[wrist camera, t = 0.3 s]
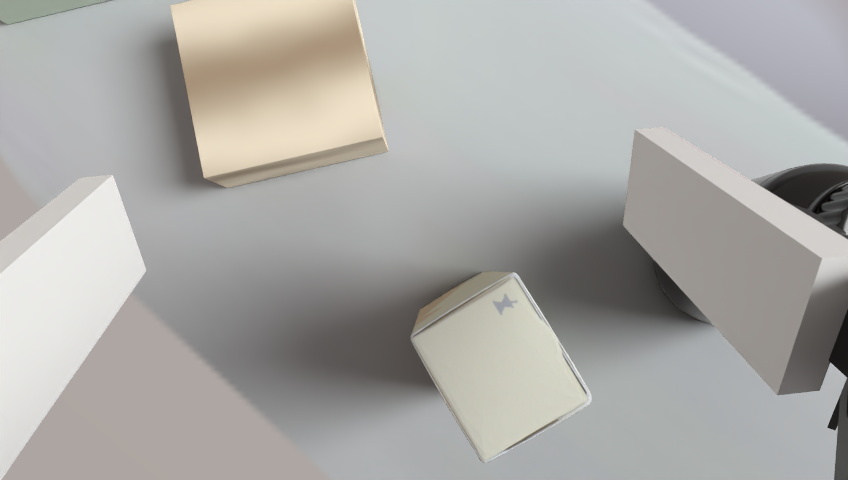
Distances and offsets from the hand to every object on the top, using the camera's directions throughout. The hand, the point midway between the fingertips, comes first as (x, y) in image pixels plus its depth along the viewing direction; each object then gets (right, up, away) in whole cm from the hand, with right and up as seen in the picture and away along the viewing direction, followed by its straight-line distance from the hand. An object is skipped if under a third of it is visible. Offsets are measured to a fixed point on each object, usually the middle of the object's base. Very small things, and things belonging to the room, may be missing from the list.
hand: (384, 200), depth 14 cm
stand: (-6, +7, +16) cm, 19 cm away
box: (+4, -6, +15) cm, 16 cm away
